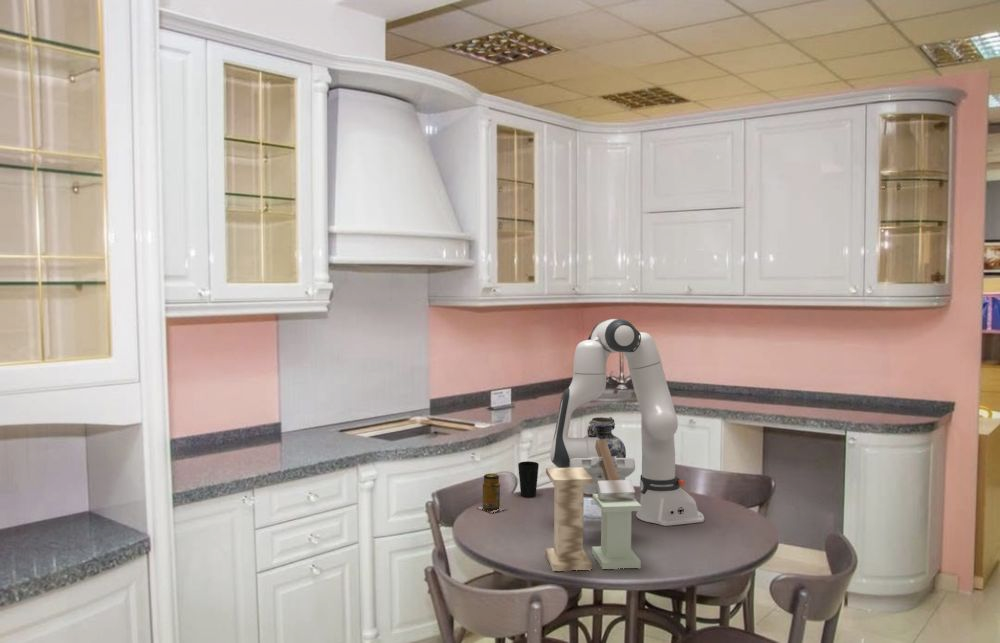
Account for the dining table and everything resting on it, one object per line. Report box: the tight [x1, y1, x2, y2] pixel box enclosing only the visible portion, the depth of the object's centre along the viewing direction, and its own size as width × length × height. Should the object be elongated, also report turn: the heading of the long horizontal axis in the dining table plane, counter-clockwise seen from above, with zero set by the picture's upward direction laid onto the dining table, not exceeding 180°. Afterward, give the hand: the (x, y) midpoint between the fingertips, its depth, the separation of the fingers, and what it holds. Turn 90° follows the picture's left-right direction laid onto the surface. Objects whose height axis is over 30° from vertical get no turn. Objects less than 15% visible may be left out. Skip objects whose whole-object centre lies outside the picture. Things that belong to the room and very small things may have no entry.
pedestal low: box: [591, 494, 642, 570], centre depth 227 cm, size 11×13×18 cm
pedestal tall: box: [545, 467, 593, 572], centre depth 225 cm, size 11×13×26 cm
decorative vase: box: [584, 416, 627, 496], centre depth 297 cm, size 21×19×28 cm
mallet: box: [595, 439, 636, 501], centre depth 235 cm, size 10×23×3 cm, turn 7°
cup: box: [517, 461, 540, 499], centre depth 292 cm, size 8×8×12 cm
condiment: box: [477, 473, 501, 514], centre depth 276 cm, size 7×8×12 cm
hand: (607, 459), depth 236 cm, fingers closed on mallet, 3 cm apart
